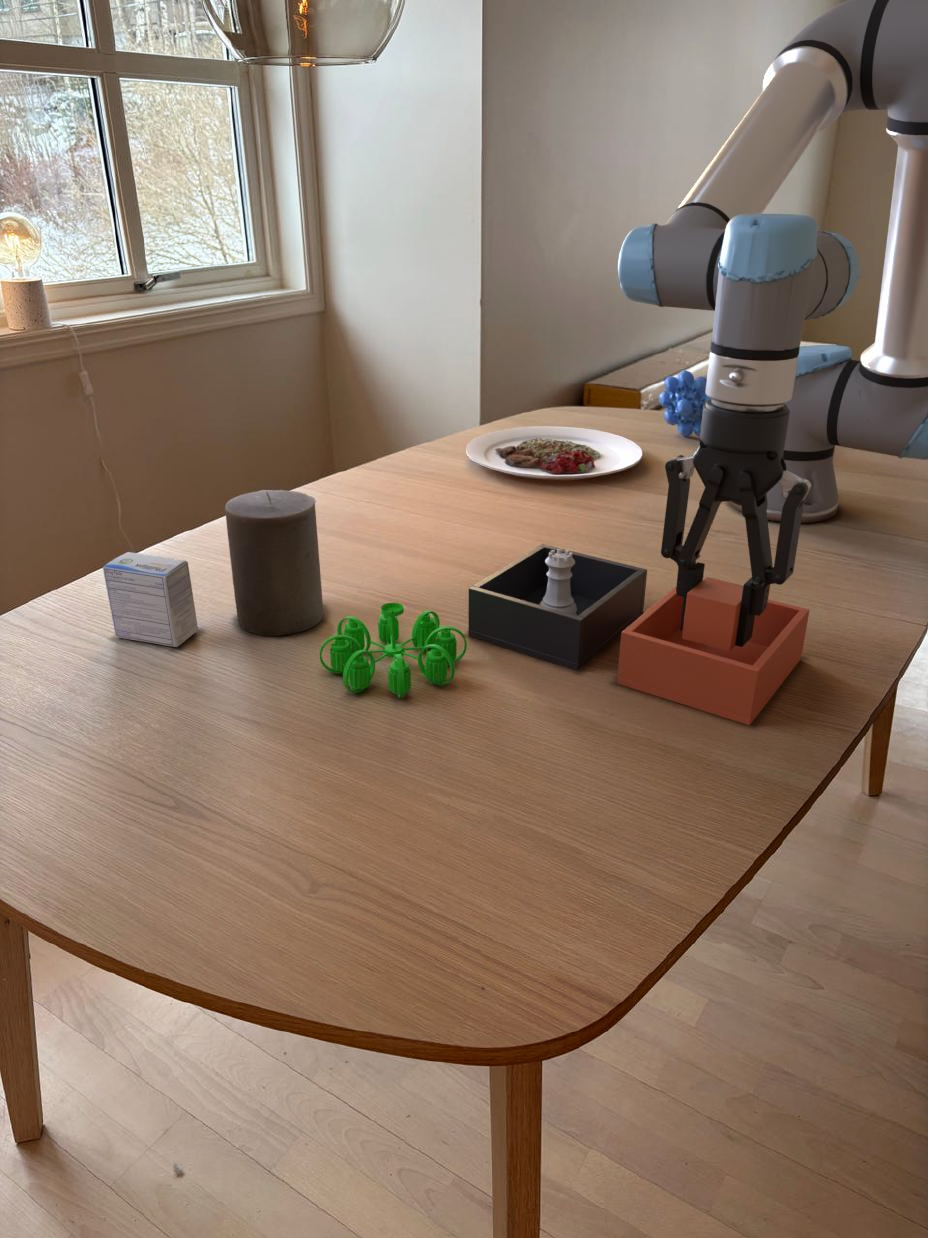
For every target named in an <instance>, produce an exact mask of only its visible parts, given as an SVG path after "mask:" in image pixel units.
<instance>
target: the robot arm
mask: <svg viewBox="0 0 928 1238" xmlns="http://www.w3.org/2000/svg"><path fill="white" fill-rule="evenodd" d="M859 110H860V111H861V110H869V111H887V119H886V127H885V131H886V133H887V134H888V135H889V136H890V137H891V138H892V139H893V140H894V141H895V143H896V144H897V154H896V162H895V171H894V179H893V188H892V196H891V204H890V205H891V206H890V213H889V221H888V228H887V237H886V239H887V240H886V245H885V254H884V263H883V270H882V278H881V288H880V296H879V304H878V310H877V311H878V312H877V322H876V329H875V338H874V342H873V343H872V344H871V345H869V346H868V347H867V348H865V349H864V350H863V351H862V353H861V354H860V358H859V360H855V359H852V358H853V356H854V354H853V352H852V351H853V350H852V348H851V347H850V346H848V345H847V346H846V345H845V346H844V345H840V344H814V345H813V344H812V345H811V344H810V345H801V343H802V337H803V330H804V325H805V324H804V323H805V321H808V320H812V319H813V320H814V319H815V320H816V319H819V318H820V317H825V316H826V315H830V314H831V313H832V312H834V311H835V310H836V309H837V308H840V307H841V306H843V304H845V303H846V302H847V301H848V300H849V299H850V298H851V296H852V295H853V293H854V292H855V290H856V288H857V286H858V283H859V280H860V278H861V262H860V261H861V260H860V257H859V254H858V251H857V249H856V248H855V246H854V245H853V243H851V241H850V240H849V239H848V238H846V237H844V236H843V235H842V234H839V233H836V232H831V231H828V230H825V231H824V230H823V231H821V230H819V227H818V223H817V221H816V220H815V219H814V218H813V217H812V216H809V215H805V214H794V213H793V214H792V213H790V214H789V213H764V211H765V210H766V208H767V207H768V206H769V204H770V202H771V201H772V200H773V198H774V197H775V195H776V194H777V192H778V191H779V190H780V188H781V187H782V185H783V183H784V182H785V180H786V179H787V178H788V176H789V174H790V173H791V172H792V170H793V169H794V167H795V166H796V164H797V163H798V162H799V160H800V159H801V157H802V155H803V154H804V153H805V151H806V149H807V148H808V147H809V145H810V144H811V142H812V141H813V139H814V138H815V136H816V135H817V134H818V132H820V131H823V130H825V129H826V128H828V127H830V126H832V124H833V123H835V122H836V121H837V119H838V118H839V117H840V116H841V114H843V113H845V112H851V111H852V112H853V111H859ZM617 261H618V262H617V276H618V280H619V284H620V289H621V291H622V293H623V294H624V295H625V297H626V298H627V299H629V300H630V301H632V302H635V303H642V304H647V305H651V306H657V307H660V308H664V307H666V308H676V309H677V308H678V309H689V310H700V311H712V312H714V316H713V327H712V336H711V342H710V349H709V356H708V366H707V375H706V379H707V382H706V391H705V393H706V394H707V396H708V397H709V398H710V399H709V400H708V401H707V402H706V403H705V404H704V406H703V415H702V423H701V432H700V437H699V445H698V448H697V449H696V451H694V454H692V455H688V456H685V455H683V454H678V455H676V456H675V457H673V458H671V459H670V460H668V461H667V462H666V463H665V465H664V469H665V475H666V479H667V483H668V489H667V497H666V506H665V514H664V522H663V523H664V524H663V529H662V531H663V532H662V538H661V539H662V540H661V549H660V554H661V556H662V557H663V558H665V559H671V560H673V561H674V562H675V563H676V565H677V577H676V585H675V587H676V593H677V595H678V596H682V597H684V601H683V610H682V618H681V627H680V630H682V631H683V625H684V617H685V609H686V600H687V593H688V592H689V591H691V590H692V589H693V588H694V587H695V586H697V585H698V584H699V583H700V582H701V581H702V580H704V573H705V566H706V563H703V562H699V561H697V560H698V559H700V558H701V556H702V555H701V552H702V549H703V546H704V545H705V543H706V540H707V538H708V534H709V533H710V530H711V528H712V525H713V522H714V521H715V518H716V515H717V513H718V510H719V508H720V505H721V504H722V502H723V503H724V502H729V503H730V504H731V505H732V507H734V508H735V509H736V510H737V511H739V512H742V517H743V518H744V520H745V528H746V530H745V531H746V537H747V546H748V554H749V562H750V572H751V577H750V578H748V580H746V582H745V583H743V585H742V586H743V593H742V600H741V608H740V615H739V622H738V629H737V636H736V643H735V645H736V646H740V647H743V646H744V645H745V644H746V643H747V642H748V640H749V639H750V638H751V637H752V633H753V626H754V620H755V615H757V616H760V615H761V614H762V613H763V611H764V610H765V609H766V607H767V601H768V599H769V595H770V590H771V585H774V584H776V585H780V586H781V585H783V584H784V583H786V581H787V580H788V579H789V578H790V577H791V576H792V575H793V573H794V569H795V564H796V558H797V550H798V545H799V537H800V532H801V531H800V530H801V525H802V524H803V523H804V524H806V523H816V522H821V521H825V520H828V519H830V518H833V517H834V516H835V515H836V514H837V511H838V507H839V491H838V486H837V480H836V474H835V467H834V453H835V448H836V446H837V447H841V448H847V449H853V450H857V451H858V450H859V451H864V452H870V453H876V454H881V455H887V456H893V457H897V458H898V459H904V458H906V459H913V460H914V459H915V460H922V461H927V460H928V0H844V1H842V2H841V3H839V4H837V5H835V6H833V7H832V8H830V9H828V10H827V11H826V12H824V13H822V14H820V16H819V17H817V18H816V19H814V20H813V21H811V22H810V23H809V24H808V25H807V26H805V27H804V28H803V29H801V30H800V31H799V32H798V33H797V34H796V35H795V36H794V37H793V38H792V39H790V41H788V43H786V44H785V46H783V48H782V49H781V50H780V51H779V53H778V54H777V56H775V58H774V60H773V61H772V63H771V64H770V65H769V67H768V69H767V70H766V72H765V75H764V77H763V83H762V91H761V93H760V94H759V96H758V97H757V99H756V100H755V101H754V103H752V105H751V107H750V108H749V110H748V111H747V112H746V114H744V117H743V118H742V119H741V120H740V122H739V123H738V124H737V126H736V127H735V129H734V130H733V131H732V133H731V134H730V136H729V137H728V139H727V140H726V141H725V142H724V144H723V145H722V146H721V148H720V149H719V150H718V152H717V153H716V155H715V156H714V158H713V159H712V160H711V162H710V163H709V164H708V166H707V167H706V168H705V170H704V171H703V173H702V174H701V175H700V177H699V178H698V179H697V181H696V182H695V184H694V185H693V187H692V188H691V189H690V191H688V193H687V194H686V196H685V198H684V199H683V200H682V202H681V203H680V204H679V206H678V207H677V209H676V210H675V211H674V212H673V213H672V215H671V216H670V217H669V219H667V222H665V224H662V225H660V224H658V223H656V222H655V223H654V222H653V223H652V224H649V225H648V224H647V225H646V224H645V225H638V226H636V227H634V228H632V229H631V230H630V231H629V232H628V233H627V235H626V236H625V237H624V240H623V242H622V245H621V248H620V251H619V255H618V259H617ZM695 470H696V472H697V475H698V476H699V479H700V480H701V482H702V484H703V486H704V489H703V492H702V495H701V496H700V499H699V502H698V508H697V510H696V513H695V516H694V518H693V520H692V523H691V525H690V527H689V531H688V533H687V535H686V538H685V539H684V536H685V535H684V533H685V527H686V518H687V513H688V511H687V510H688V503H689V495H690V489H691V487H690V486H691V477H693V475H694V472H695ZM769 521H773V522H779V529H778V536H777V543H776V550H775V556H774V562H773V555H772V549H771V548H772V547H771V546H772V545H771V538H770V529H769ZM684 540H685V541H684Z"/></svg>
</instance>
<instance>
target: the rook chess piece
mask: <svg viewBox="0 0 928 1238" xmlns="http://www.w3.org/2000/svg"><path fill="white" fill-rule="evenodd" d="M562 549H563V548H562ZM562 549H557V553H555V550H551V551H550V553H549V557H548V558H547V559H546V560H545V563H546V564H547V566H548V567H549V571H548V572H547V576H548V585H547V590H546V594H545V596H544V597H543V601H541V603H540V604H539V605H541V606H544V607H548V608H552V609H555V610H559V611H562V612H566V613H569V614H573V615H576V616H577V614H576V612H577V607H576V604H575V603H574V600H573V598H572V596H571V588H570V578H571V577H572V573H571V571H570V570H571V567H572V566H573V565H574V564H575V560H574V559H573V558H572V553H570V551H571V550H570V551H568V550H569V549H566V550H565V553H562Z"/></svg>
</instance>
